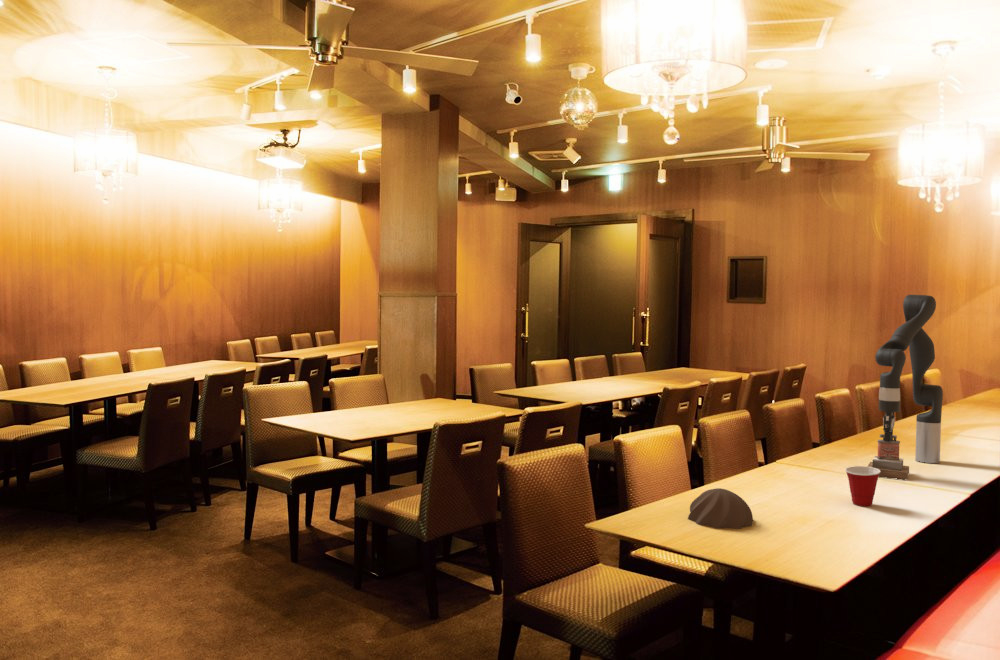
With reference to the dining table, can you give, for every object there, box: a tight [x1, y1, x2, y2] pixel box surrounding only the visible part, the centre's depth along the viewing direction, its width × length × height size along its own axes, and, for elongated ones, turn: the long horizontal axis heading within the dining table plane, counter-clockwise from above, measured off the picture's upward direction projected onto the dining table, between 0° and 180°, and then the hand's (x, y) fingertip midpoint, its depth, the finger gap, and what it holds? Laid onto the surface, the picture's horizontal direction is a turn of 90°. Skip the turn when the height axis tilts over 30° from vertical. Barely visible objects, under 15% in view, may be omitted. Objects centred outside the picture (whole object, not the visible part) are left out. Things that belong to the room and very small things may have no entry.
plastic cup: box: [844, 465, 881, 507], centre depth 249 cm, size 11×11×12 cm
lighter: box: [876, 433, 901, 460], centre depth 294 cm, size 8×3×10 cm, turn 78°
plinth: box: [866, 455, 910, 480], centre depth 295 cm, size 14×14×6 cm
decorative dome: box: [687, 487, 754, 530], centre depth 229 cm, size 19×20×10 cm
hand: (888, 439), depth 294 cm, fingers open, 8 cm apart
